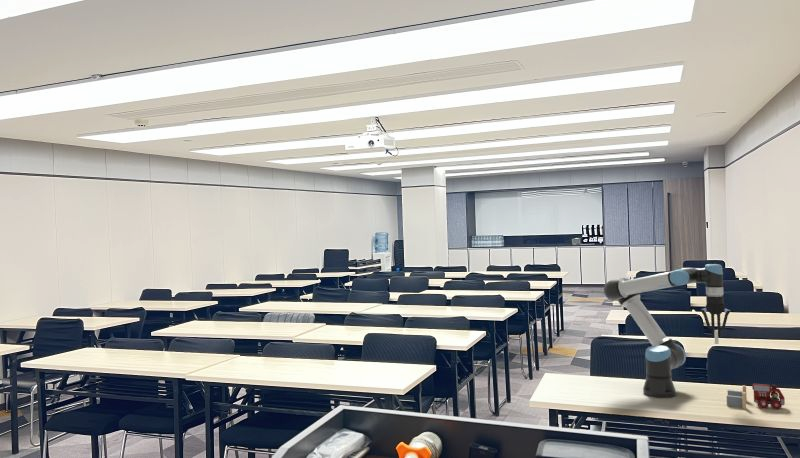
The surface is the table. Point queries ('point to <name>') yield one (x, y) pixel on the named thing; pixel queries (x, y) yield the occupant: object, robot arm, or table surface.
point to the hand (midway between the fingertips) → (716, 343)
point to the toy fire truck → (768, 396)
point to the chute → (737, 398)
